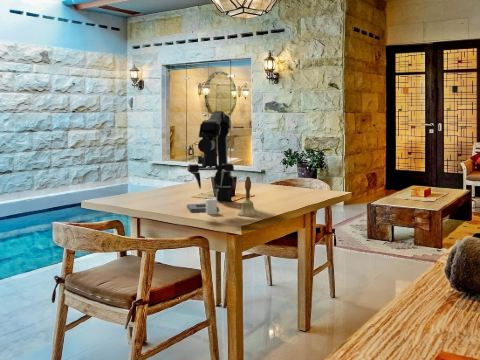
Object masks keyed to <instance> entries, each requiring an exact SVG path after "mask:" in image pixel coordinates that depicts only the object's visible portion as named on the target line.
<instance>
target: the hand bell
mask: <svg viewBox="0 0 480 360" xmlns="http://www.w3.org/2000/svg"><path fill="white" fill-rule="evenodd" d="M244 188H245V200H244V201H242V202H241V203H242V204H241V208H240V210H239V212H237V215H238V217H239V216H240V217H255V216H258V212H257V211H256V210H255V207H254V202H253V201H252V200H251V199H250V197H251V189H252V180H251V177H250V176H246V178H245V181H244Z"/></svg>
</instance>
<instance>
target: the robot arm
mask: <svg viewBox="0 0 480 360" xmlns="http://www.w3.org/2000/svg"><path fill="white" fill-rule="evenodd" d="M231 128H232V121H231V118H230V117H229V115H227V114H226V113H225V111H223V110H215V111H212V115H211V116H210V117H209V118H208V119H204V120H203V121H201V123H200V126H199V131H198V132H199V133H198V138H201V139H200V140H199V142H198V144H197V148H198V150H199V151H200V152H201V153H203V156H202V155H200V156H199V155H198V156H197V163H190V164H188V165H187V172H189V173H190V174H192V175H193V176H194V177H195V179H196V183H197V186H198V188H199V189H202V184H201V172H200V171H212V170H213V171H215V170H216V172H215V175H214V179H213V180H214V189H215V190H217V191H216V196H215V197H216V198H215V199H216V200H217V203H231V202H233V199H232V190H233V189H235V180H234V177H233V176H232V172H234V171H235V170H234V164H232V163H229V162H228V161H229V160H228V135H229V134H230V132H231Z"/></svg>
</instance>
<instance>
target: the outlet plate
mask: <svg viewBox="0 0 480 360" xmlns="http://www.w3.org/2000/svg"><path fill="white" fill-rule="evenodd" d="M186 208H187V209H188V211H189V212H190V213H206V202H205V203H202V202H199V203H187V204H186ZM219 210H220V209H219V207H218V206H217V212H219Z"/></svg>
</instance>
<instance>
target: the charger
mask: <svg viewBox="0 0 480 360" xmlns="http://www.w3.org/2000/svg"><path fill="white" fill-rule="evenodd" d="M205 203H206V212H205V214H207V215H217V214H218V211H217V207H218V201H217V200H216V198H205Z"/></svg>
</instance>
